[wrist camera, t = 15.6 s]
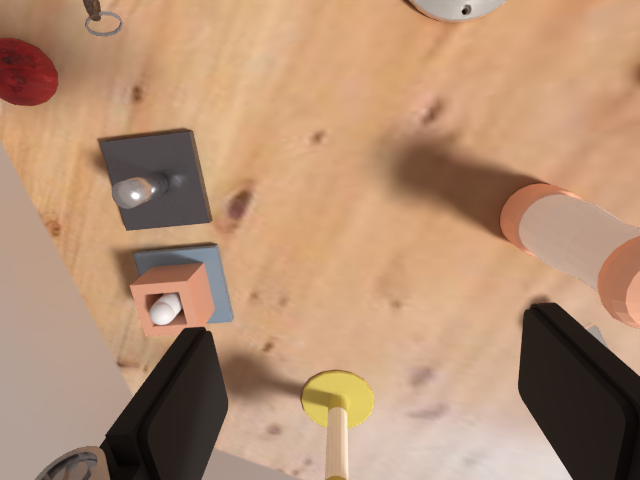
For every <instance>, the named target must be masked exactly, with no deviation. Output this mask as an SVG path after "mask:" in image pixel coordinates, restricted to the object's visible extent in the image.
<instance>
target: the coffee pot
mask: <svg viewBox="0 0 640 480" xmlns="http://www.w3.org/2000/svg"><path fill="white" fill-rule="evenodd" d="M83 2H84V6H85V8H86V10H87V12H88V14H89V17H88V18H87V20H86V23H85V27H86V28H87V30H88V31H89V32H90V33H92V34H94V35H96V36H110V35H115V34H116V33H118V32H119V31H120V30H121V28H122V25H123V22H122V20H121V18H120V17H119V16H118V15H116V14H114V13H112V12H101V10H100V3H99V1H98V0H83ZM101 15H112V16H114V17H116V18H118V19H119V21H120V25H119V27H118V28H117V29H116V30H115V31H113V32H108V33H97V32H94V31H92V30H90V29H89V27H88V23H89V21H90V20H91V19H92V20H93V21H99V20H100V19H101Z"/></svg>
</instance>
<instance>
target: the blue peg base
mask: <svg viewBox="0 0 640 480" xmlns="http://www.w3.org/2000/svg"><path fill="white" fill-rule="evenodd" d="M134 257H135V261H136V264H137V267H138V271H139V274H140V277H141V276H142V275H143V274H144V273H146V272H147V271H148V270H149V269H151V268H152V267H156V266H168V265H180V264H192V263H204V264H205V268H206V273H207V277H208V281H209V285H210V290H211V294H212V298H213V303H214V307H215V311H214V313H213V314H212V316H211V317H210V319H209V320H208V322H207V323H222V322H232V320H233V318H234V317H233V312H232V307H231V303H230V298H229V294H228V289H227V285H226V280H225V275H224V271H223V266H222V262H221V257H220V253H219V248H218V244H217V245H206V246H195V247H184V248H173V249H162V250H150V251H139V252H137V253H135V254H134ZM182 308H183V306H182V302H181V298H180V295H179V292H172V293H164V294H163V295H162V296H161V297H160V298H159V299H158V300H157V301H156V302H155V303H154V304H153V306H152V307H151V309H150V312H149V315H150V318H151V320H152V321H153V322H154V323H155V324H158V325H165V324H168V323H170V322H171V321H172V320H173V319H174V318H175V316H176V315H177V314H178V313H179V312H180V310H181V309H182ZM207 323H206V324H207Z"/></svg>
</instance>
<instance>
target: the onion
mask: <svg viewBox="0 0 640 480" xmlns="http://www.w3.org/2000/svg"><path fill="white" fill-rule="evenodd" d="M57 86H58V73H57V71H56V69H55V67H54V65H53V63H52V61H51V60H50V59H49V58H48V57H47V56H46V55H45V54H44V53H43V52H42V51H41V50H40V49H39V48H37V47H35V46H33V45H31V44H28V43H26V42H24V41H21V40H18V39H12V38H0V98H1V99H3V100H5V101H7V102H9V103H12V104H14V105H23V106H35V105H39V104H41V103H44V102H47V101H48V100H49V99H50V98H51V97H52V96H53V95H54V94H55V93H56V89H57Z"/></svg>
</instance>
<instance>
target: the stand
mask: <svg viewBox="0 0 640 480" xmlns="http://www.w3.org/2000/svg"><path fill="white" fill-rule="evenodd" d="M100 145H101V148H102V152H103V155H104V158H105V161H106V165H107V168H108V171H109V175H110V178H111V181H112V185H113V189H112V197H113V199H114V201H115V202H116V203H117V204H118V205H119V208H120V211H121V214H122V218H123V221H124V224H125V228H126V231H129V230H139V229H150V228H160V227H171V226H181V225H192V224H202V223H210V222H211V221H212V216H211V211H210V207H209V202H208V198H207V193H206V188H205V184H204V179H203V175H202V170H201V166H200V161H199V156H198V152H197V147H196V143H195V138H194V134H193V131H189V132H181V133H173V134H164V135H156V136H148V137H139V138H131V139H123V140H114V141H106V142H100Z"/></svg>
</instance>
